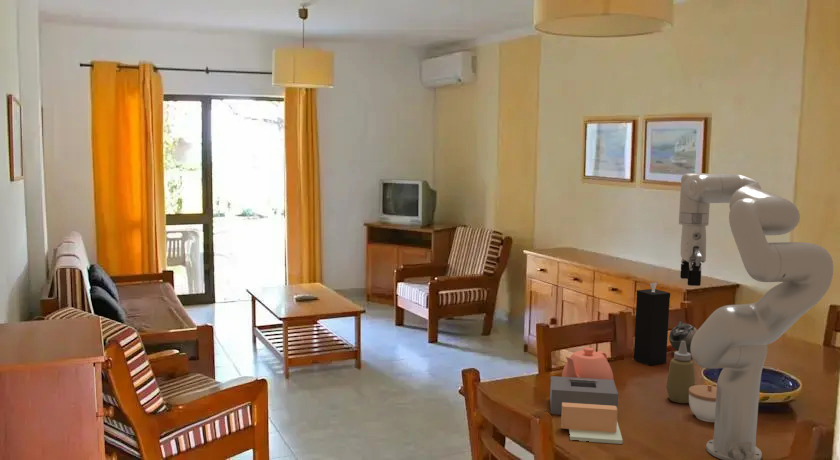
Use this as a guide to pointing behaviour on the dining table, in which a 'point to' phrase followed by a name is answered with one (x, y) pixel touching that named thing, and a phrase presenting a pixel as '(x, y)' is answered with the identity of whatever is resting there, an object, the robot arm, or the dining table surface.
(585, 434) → the mat
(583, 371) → the teapot
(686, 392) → the squeeze bottle
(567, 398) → the dispenser
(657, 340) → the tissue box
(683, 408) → the dining table surface
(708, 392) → the lidded jar
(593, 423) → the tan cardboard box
